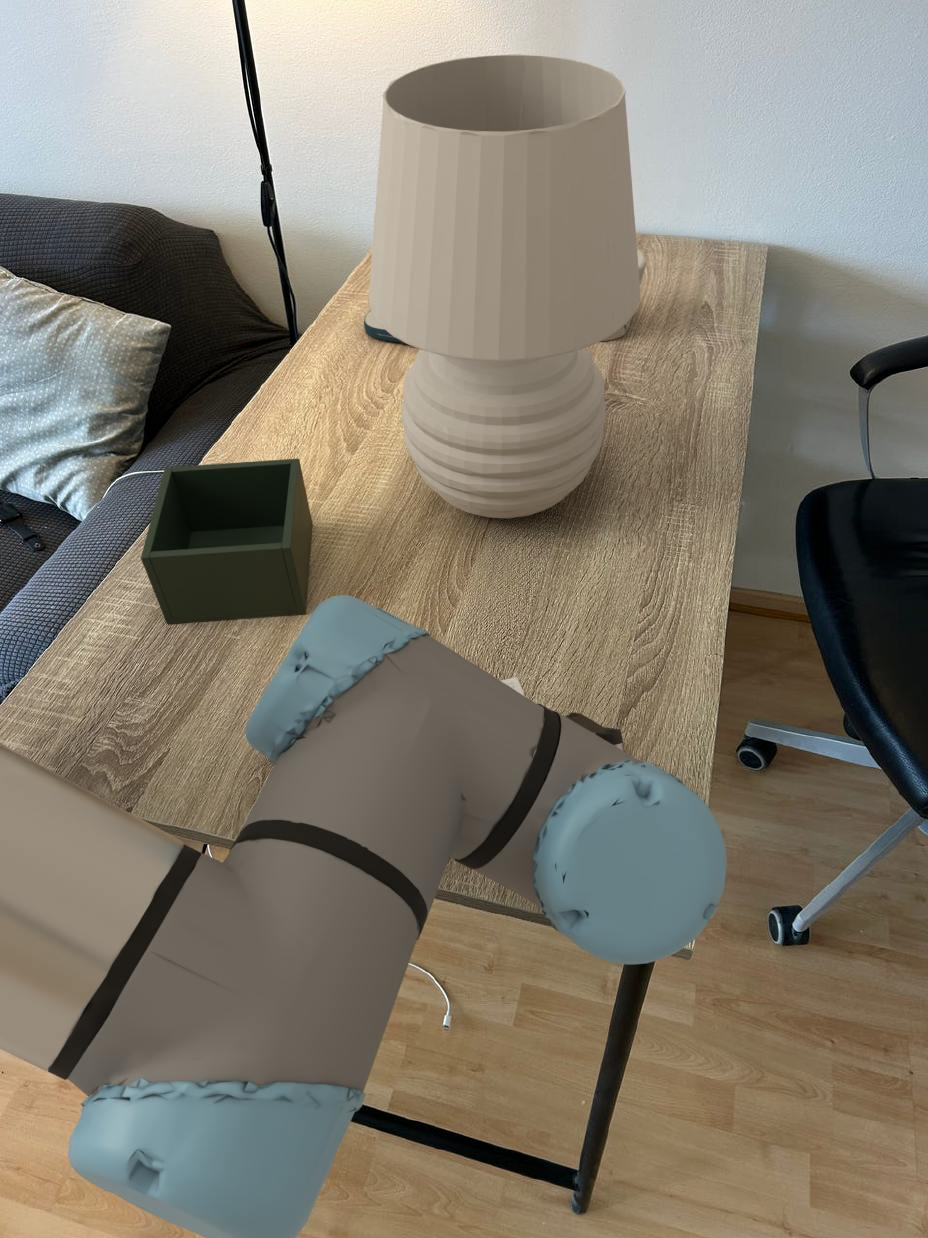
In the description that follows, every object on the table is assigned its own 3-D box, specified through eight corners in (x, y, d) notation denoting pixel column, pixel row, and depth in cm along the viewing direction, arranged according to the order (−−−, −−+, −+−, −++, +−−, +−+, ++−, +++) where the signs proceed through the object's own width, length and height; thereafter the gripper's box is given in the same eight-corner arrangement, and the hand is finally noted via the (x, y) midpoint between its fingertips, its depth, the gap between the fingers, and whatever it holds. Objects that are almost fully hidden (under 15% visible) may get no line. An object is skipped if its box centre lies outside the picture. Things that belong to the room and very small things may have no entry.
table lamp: (566, 405, 111) (588, 31, 82) (655, 532, 95) (723, 117, 66) (368, 447, 107) (317, 65, 78) (425, 587, 90) (388, 167, 61)
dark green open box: (166, 624, 88) (140, 557, 81) (187, 533, 97) (164, 467, 91) (305, 614, 88) (290, 547, 82) (312, 524, 97) (299, 458, 91)
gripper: (387, 902, 47) (367, 807, 70) (722, 821, 50) (597, 755, 73) (360, 763, 47) (348, 713, 70) (698, 690, 50) (581, 664, 72)
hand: (476, 734), depth 71 cm, fingers closed on cosmetic box, 6 cm apart
